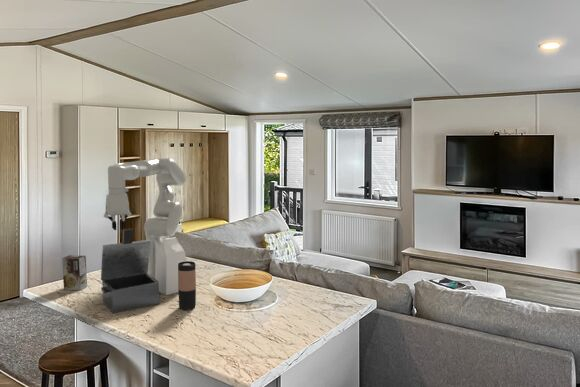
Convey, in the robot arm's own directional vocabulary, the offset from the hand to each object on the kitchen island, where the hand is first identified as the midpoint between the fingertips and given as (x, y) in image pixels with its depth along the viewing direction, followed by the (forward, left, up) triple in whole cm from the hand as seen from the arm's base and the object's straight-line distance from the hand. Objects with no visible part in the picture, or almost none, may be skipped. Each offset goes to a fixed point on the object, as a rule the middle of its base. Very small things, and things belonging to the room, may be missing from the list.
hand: (118, 229), depth 216 cm
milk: (-22, +10, -31) cm, 40 cm away
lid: (0, +14, -9) cm, 17 cm away
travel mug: (-19, +38, -31) cm, 53 cm away
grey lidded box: (0, +18, -31) cm, 36 cm away
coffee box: (+17, -18, -31) cm, 40 cm away
